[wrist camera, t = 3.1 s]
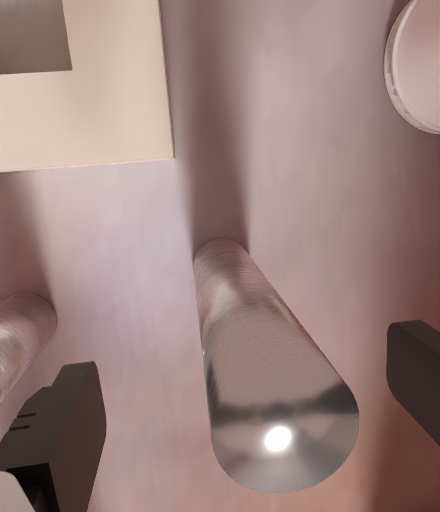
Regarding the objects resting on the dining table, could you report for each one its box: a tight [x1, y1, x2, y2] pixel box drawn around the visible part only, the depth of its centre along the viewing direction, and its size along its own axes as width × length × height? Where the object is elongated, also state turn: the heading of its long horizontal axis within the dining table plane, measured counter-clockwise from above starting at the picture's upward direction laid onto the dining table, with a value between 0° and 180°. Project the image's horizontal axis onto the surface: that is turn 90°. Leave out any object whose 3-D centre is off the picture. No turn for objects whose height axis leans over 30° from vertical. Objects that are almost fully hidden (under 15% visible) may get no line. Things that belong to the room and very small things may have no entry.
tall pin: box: [193, 238, 359, 494], centre depth 15 cm, size 3×3×14 cm
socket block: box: [0, 0, 175, 173], centre depth 16 cm, size 12×12×4 cm
